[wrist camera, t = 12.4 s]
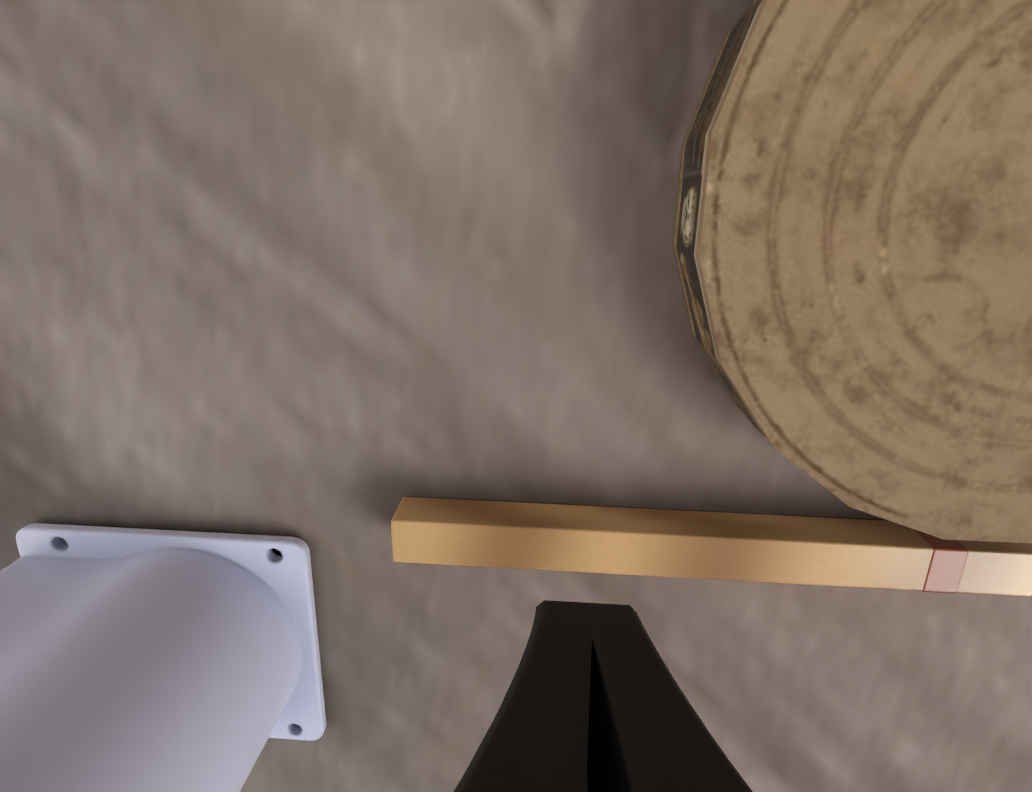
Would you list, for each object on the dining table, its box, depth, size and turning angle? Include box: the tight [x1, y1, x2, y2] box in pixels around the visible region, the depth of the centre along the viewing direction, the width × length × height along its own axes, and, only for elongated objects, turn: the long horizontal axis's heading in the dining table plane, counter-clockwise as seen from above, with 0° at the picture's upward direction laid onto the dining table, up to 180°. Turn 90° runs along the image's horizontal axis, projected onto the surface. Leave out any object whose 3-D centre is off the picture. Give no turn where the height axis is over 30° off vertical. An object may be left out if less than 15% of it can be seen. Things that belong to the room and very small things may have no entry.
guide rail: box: [391, 497, 1032, 597], centre depth 18 cm, size 18×1×2 cm, turn 89°
